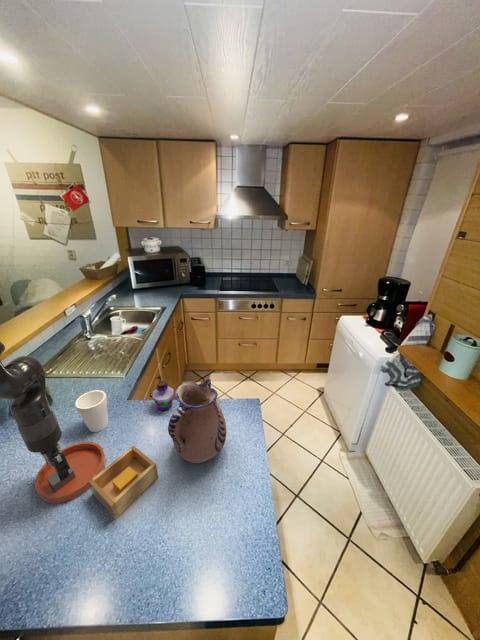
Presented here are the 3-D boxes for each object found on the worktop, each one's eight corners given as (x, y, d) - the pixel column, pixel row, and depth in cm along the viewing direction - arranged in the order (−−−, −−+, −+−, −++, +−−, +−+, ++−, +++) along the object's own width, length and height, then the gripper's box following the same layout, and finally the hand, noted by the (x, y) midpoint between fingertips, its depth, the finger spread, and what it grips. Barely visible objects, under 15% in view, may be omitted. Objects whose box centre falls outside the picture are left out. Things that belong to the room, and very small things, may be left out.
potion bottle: (158, 417, 97) (154, 393, 93) (151, 404, 104) (147, 381, 99) (179, 408, 102) (176, 384, 97) (171, 396, 108) (168, 373, 104)
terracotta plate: (55, 518, 66) (51, 511, 64) (28, 480, 74) (24, 474, 73) (117, 466, 79) (115, 460, 78) (88, 439, 88) (86, 433, 87)
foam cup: (85, 441, 87) (75, 412, 82) (83, 423, 94) (74, 396, 89) (114, 429, 92) (107, 401, 87) (110, 413, 99) (104, 387, 94)
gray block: (55, 492, 71) (52, 486, 70) (49, 484, 73) (46, 478, 72) (75, 476, 75) (73, 470, 74) (69, 469, 77) (67, 463, 76)
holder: (115, 519, 66) (111, 506, 63) (93, 494, 71) (88, 481, 69) (158, 476, 76) (156, 463, 74) (136, 457, 82) (133, 445, 79)
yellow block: (122, 495, 70) (120, 489, 69) (113, 487, 72) (111, 481, 71) (138, 479, 74) (137, 473, 73) (130, 472, 76) (129, 466, 75)
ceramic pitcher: (233, 434, 91) (233, 378, 80) (209, 492, 72) (206, 429, 62) (190, 422, 95) (185, 368, 85) (157, 473, 77) (146, 412, 67)
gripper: (12, 425, 66) (32, 466, 73) (34, 452, 59) (54, 495, 65) (44, 408, 72) (61, 447, 78) (68, 431, 64) (84, 472, 71)
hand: (58, 469), depth 72 cm, fingers open, 8 cm apart
